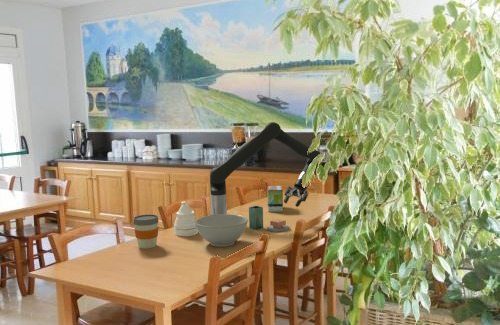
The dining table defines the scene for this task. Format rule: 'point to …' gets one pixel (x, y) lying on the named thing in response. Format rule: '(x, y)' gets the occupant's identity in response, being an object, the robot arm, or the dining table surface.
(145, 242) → the reusable coffee cup
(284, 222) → the tin lid
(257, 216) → the tea tin
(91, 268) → the dining table surface
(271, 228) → the slate mat
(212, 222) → the decorative bowl
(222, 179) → the robot arm
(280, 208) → the tea box
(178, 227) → the honey pot
